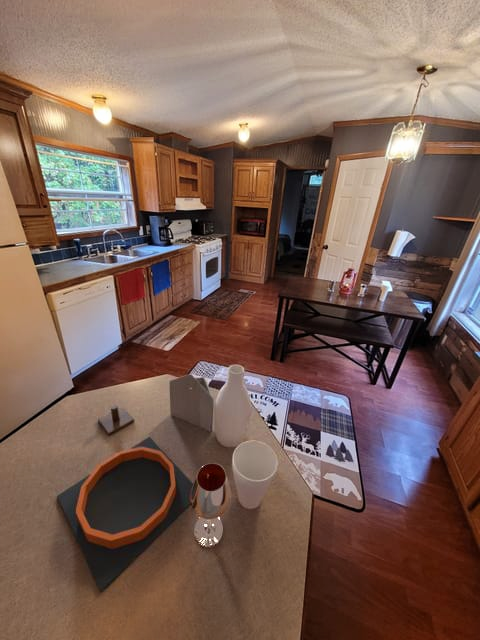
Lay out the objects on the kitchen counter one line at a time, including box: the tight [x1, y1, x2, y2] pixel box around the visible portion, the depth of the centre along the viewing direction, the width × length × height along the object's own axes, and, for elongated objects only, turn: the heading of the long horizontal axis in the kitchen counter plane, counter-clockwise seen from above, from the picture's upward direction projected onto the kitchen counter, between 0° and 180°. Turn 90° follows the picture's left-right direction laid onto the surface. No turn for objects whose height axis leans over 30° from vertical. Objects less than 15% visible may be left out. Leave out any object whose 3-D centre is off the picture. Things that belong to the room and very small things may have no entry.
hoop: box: [76, 447, 176, 549], centre depth 61 cm, size 21×21×3 cm
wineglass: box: [190, 462, 232, 548], centre depth 52 cm, size 8×8×18 cm
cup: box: [231, 439, 279, 510], centre depth 61 cm, size 10×10×14 cm
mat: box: [56, 436, 193, 593], centre depth 61 cm, size 24×24×1 cm
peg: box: [97, 404, 135, 436], centre depth 80 cm, size 8×8×6 cm
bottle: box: [213, 364, 252, 448], centre depth 75 cm, size 11×11×25 cm
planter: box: [168, 373, 215, 433], centre depth 83 cm, size 16×8×19 cm, turn 65°
